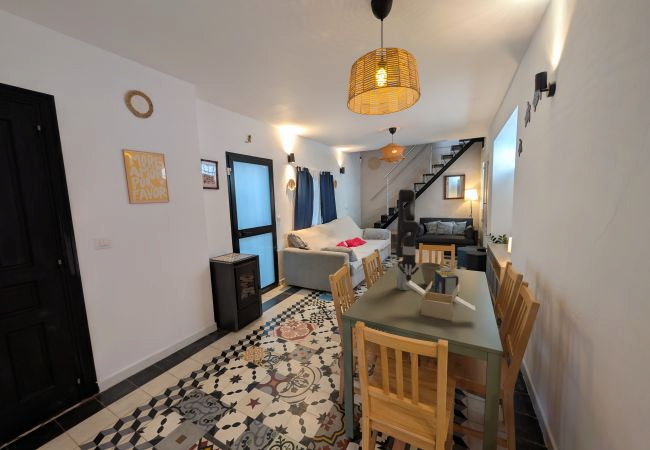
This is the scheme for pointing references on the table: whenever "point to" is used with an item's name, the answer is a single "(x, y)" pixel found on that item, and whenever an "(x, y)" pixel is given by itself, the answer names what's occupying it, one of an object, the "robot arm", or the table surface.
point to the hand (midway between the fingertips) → (408, 280)
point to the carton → (437, 306)
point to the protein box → (445, 282)
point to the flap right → (460, 301)
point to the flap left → (418, 288)
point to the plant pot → (429, 272)
